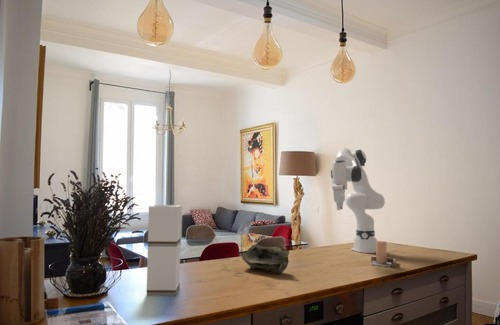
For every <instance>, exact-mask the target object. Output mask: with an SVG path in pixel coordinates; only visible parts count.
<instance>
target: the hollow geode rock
mask: <svg viewBox="0 0 500 325" xmlns="http://www.w3.org/2000/svg"><path fill="white" fill-rule="evenodd" d="M289 254H290V251H289V250H288V249H287V248H284V247H282V246H281V245H264V244H260V243H256V244H253V245H251V246H250V247H249V248H248V249H247V250H245V251H244V252H243V253H242V256H241V258H242V261H244V262H245V263H246V264H247V265H248V266H249V270H254V269H257V268H259V269H264V270H266V271H268V272H270V273H275V274H280V275H282V274H283V272H284V271H285V270H286V269H287V267H288V265H289Z"/></svg>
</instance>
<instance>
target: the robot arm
mask: <svg viewBox="0 0 500 325" xmlns="http://www.w3.org/2000/svg"><path fill="white" fill-rule="evenodd" d="M366 162H367V155H366V153H365V152H364V151H363V150H362V149H357V150H354V151H352V150H350V149H349V148H347V147H343V148H340V149H339V150H338V152H337V153H336V155H335V160H334V161H333V162H332V167H331V168H332V169H331V170H330V178H331V179H332V180H331V189H332V190H333V191H332V192H333V195H332V196H333V201H334V203H336V204H335V205H336V210H337V211H341V210H343V206H344V202H345V204H346V206H347V207H348V208H349V209H350V210H351V211H352V213H353V214H354V216H355V219H356V230H355V235H356V236H355V237H354V238H353V247H352V248H350V251H354V252H358V253H365V254H372V253H373V254H374V253H375V254H376V241H378V240H377V238H376V237H375V235H376V234H375V233H376V231H375V220H374V217H372V215H369V214H368V213H366V210H379V209H380V210H381V209H382V208H384V207H385V197H384V196H383V194H381V193H379V192H377V191H376V190H374V189H373V188H372V187H371V185H370V183H369V179H368V176H367V173H366V171H365V169H364V168H363V167H365V164H366ZM348 182H351V184H352V188H353V189H352V190H354V193H349V194H348V195H347V196H346V195H345V193H346V190H348Z"/></svg>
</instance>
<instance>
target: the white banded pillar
mask: <svg viewBox="0 0 500 325" xmlns="http://www.w3.org/2000/svg"><path fill="white" fill-rule="evenodd" d="M147 225H148V226H147V228H148V230H147V262H146V263H147V264H146V265H147V266H146V271H147V272H146V296H173V297H175V296H177V293H178V292H179V290H180V288H181V283H180V280H181V279H180V276H181V274H180V269H181V268H180V267H181V247H182V246H181V245H182V241H181V240H182V204H180V205H179V204H154V206H152V205H151V206H150V205H149V206H148V224H147Z"/></svg>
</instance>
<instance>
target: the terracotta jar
mask: <svg viewBox="0 0 500 325" xmlns="http://www.w3.org/2000/svg"><path fill="white" fill-rule="evenodd" d="M387 245H388V244H387V241H384V240H383V241H382V240H379V241H378V240H377V241H376V252H375V254H376V255H375V257H376V263H377V264H383V265H384V264H387V258H388V256H387Z"/></svg>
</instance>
